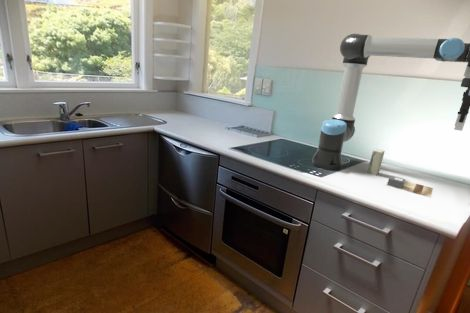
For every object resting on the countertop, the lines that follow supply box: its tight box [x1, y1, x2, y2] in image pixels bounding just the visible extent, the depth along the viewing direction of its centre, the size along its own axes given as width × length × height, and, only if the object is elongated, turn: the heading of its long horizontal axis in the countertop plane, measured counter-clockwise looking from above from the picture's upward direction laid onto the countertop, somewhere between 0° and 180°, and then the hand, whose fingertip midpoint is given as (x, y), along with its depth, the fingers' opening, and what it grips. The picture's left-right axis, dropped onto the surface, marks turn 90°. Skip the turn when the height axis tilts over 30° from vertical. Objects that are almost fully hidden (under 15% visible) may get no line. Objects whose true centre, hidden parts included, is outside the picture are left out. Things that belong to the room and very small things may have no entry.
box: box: [367, 148, 385, 176], centre depth 141 cm, size 5×4×13 cm
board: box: [385, 180, 434, 198], centre depth 129 cm, size 17×14×1 cm
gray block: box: [386, 175, 407, 190], centre depth 128 cm, size 6×5×3 cm
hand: (458, 128), depth 126 cm, fingers open, 13 cm apart
